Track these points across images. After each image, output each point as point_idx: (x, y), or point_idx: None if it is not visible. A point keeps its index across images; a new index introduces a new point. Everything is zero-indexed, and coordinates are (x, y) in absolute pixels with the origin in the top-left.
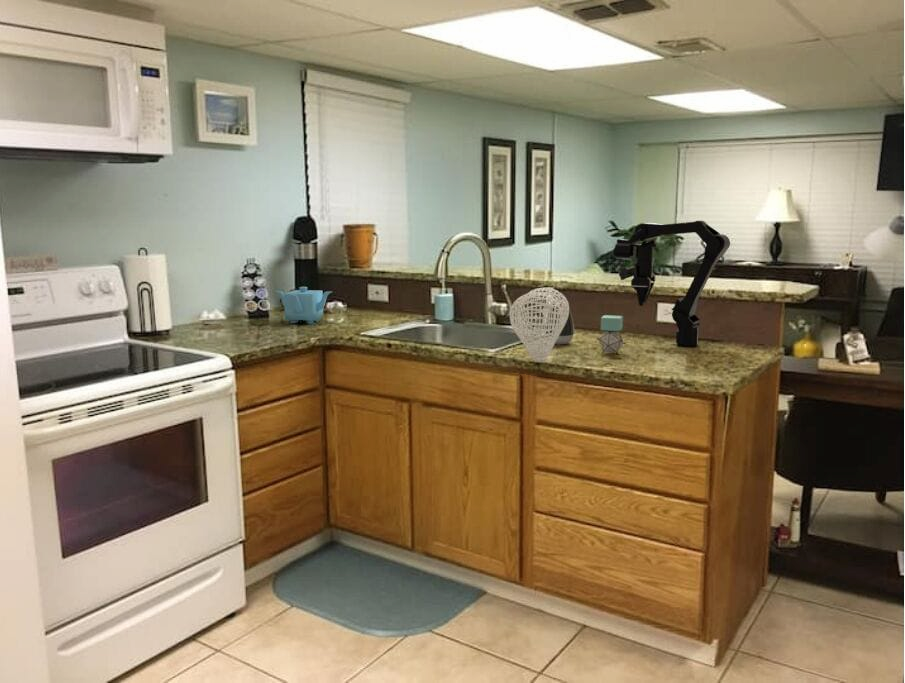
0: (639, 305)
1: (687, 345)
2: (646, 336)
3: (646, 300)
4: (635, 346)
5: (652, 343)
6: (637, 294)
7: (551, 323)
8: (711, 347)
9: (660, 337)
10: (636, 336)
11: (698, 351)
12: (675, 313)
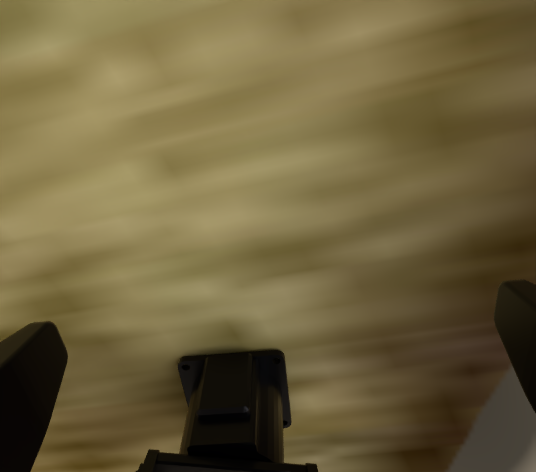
0: (34, 322)
1: (186, 400)
2: (493, 127)
3: (510, 358)
4: (29, 154)
5: (206, 227)
6: None
7: None
8: None
9: (468, 225)
10: (476, 50)
11: (102, 441)
12: None
